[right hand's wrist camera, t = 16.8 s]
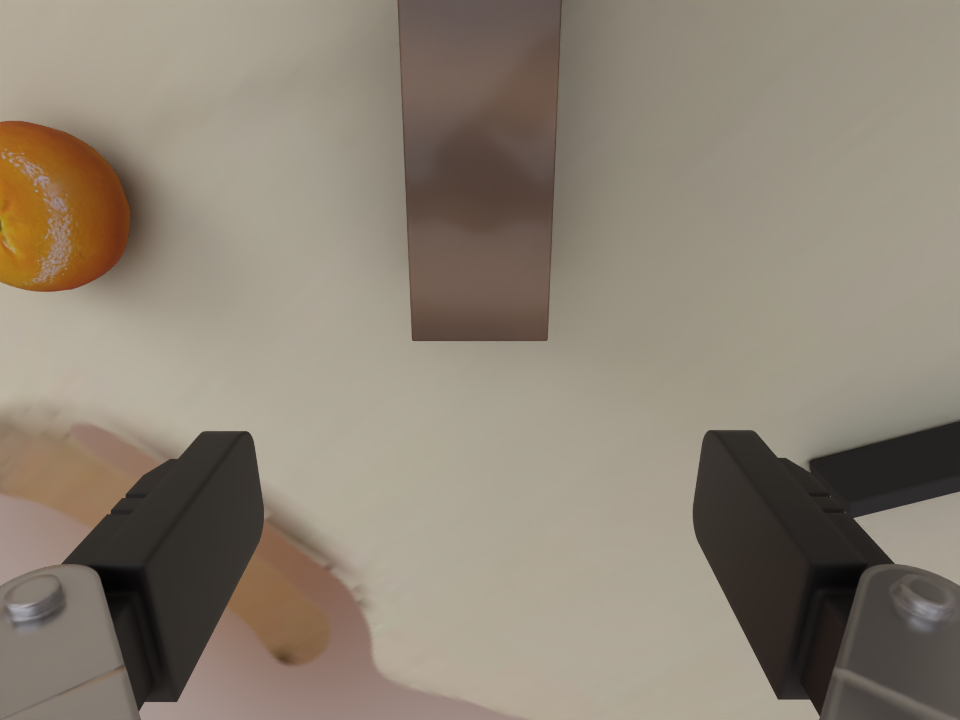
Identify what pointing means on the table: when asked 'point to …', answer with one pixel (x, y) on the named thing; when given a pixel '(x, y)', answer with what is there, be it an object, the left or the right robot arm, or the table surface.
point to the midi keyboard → (893, 471)
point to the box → (479, 165)
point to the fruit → (57, 210)
